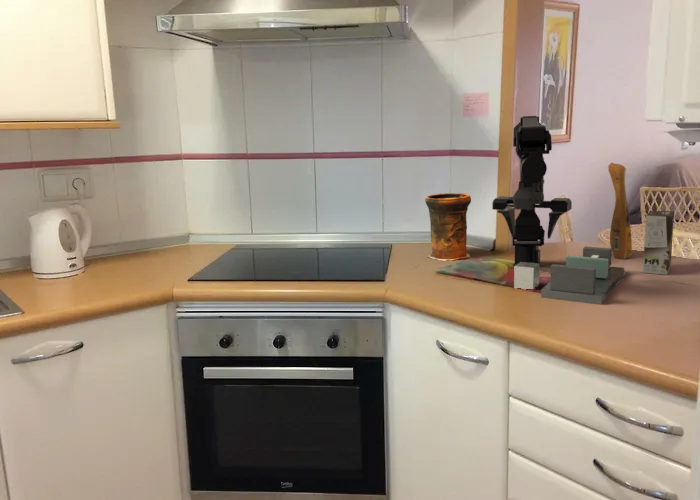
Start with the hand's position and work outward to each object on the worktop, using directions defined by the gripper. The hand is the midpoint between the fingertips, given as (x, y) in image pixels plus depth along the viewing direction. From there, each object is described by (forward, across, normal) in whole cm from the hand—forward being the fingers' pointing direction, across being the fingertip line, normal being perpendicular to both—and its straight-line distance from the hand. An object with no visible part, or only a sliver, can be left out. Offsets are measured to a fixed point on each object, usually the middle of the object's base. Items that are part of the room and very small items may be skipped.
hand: (530, 237), depth 157 cm
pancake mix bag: (+13, +15, +46) cm, 50 cm away
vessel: (+13, -33, +25) cm, 43 cm away
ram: (+11, +13, +14) cm, 22 cm away
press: (+13, +12, +6) cm, 19 cm away
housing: (+13, -1, 0) cm, 13 cm away
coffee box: (+13, +27, +29) cm, 42 cm away
